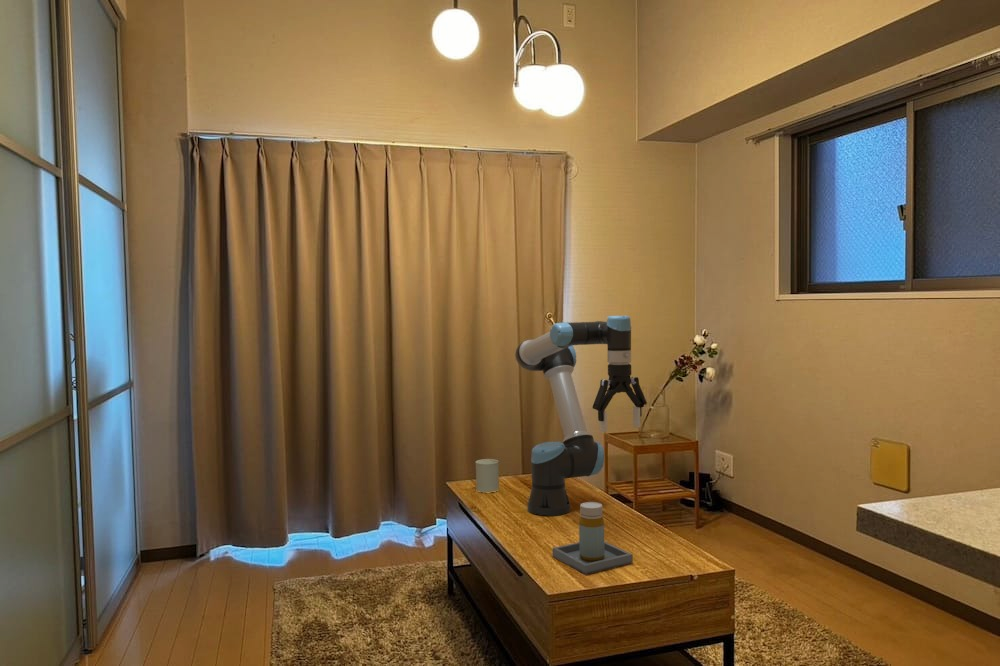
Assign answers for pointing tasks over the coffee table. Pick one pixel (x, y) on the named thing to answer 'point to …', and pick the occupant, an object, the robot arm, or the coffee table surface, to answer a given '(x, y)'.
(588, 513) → the bottle
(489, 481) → the can
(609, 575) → the coffee table surface
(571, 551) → the tray
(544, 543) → the coffee table surface
